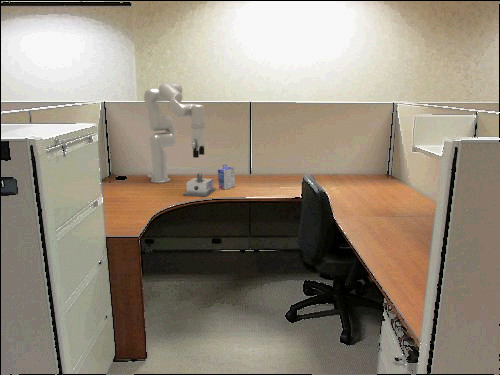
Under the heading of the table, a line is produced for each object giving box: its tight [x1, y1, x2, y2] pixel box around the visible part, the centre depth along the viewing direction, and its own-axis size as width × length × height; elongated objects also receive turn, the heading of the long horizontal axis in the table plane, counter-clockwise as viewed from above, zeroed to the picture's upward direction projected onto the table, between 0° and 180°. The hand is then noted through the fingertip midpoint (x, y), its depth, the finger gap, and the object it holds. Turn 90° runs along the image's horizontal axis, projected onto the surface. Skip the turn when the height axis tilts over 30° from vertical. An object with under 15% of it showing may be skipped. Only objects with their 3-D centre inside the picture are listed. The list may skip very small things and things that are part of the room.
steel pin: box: [196, 173, 203, 182], centre depth 259 cm, size 3×3×10 cm
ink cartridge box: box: [217, 163, 236, 190], centre depth 271 cm, size 10×6×14 cm, turn 141°
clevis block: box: [183, 177, 217, 198], centre depth 260 cm, size 14×18×7 cm
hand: (198, 156), depth 256 cm, fingers open, 9 cm apart
